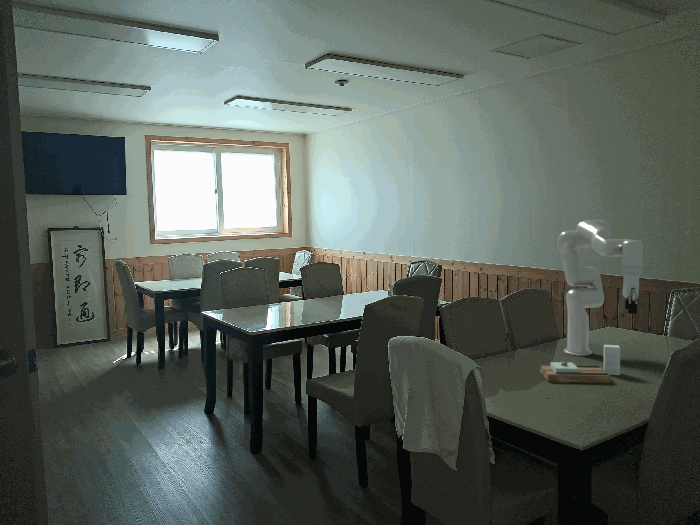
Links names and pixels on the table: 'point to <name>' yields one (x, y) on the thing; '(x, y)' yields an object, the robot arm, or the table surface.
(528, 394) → the table surface
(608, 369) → the skincare box
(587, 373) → the brown wooden sliding box
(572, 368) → the lid
